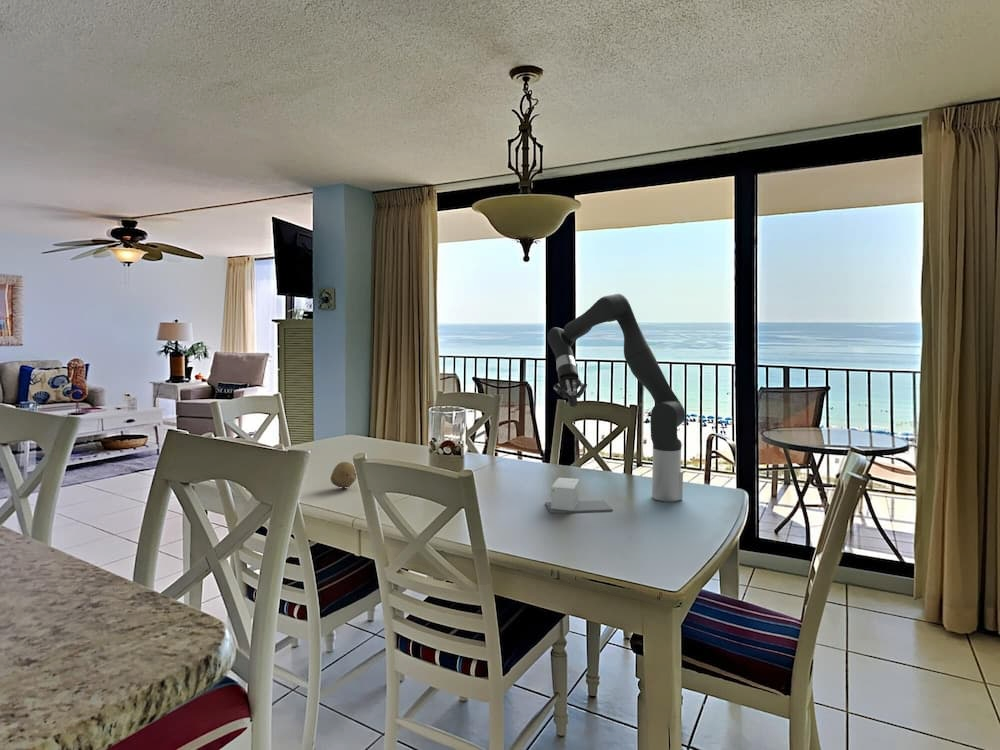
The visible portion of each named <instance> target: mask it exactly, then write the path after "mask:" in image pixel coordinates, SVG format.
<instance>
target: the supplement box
mask: <svg viewBox="0 0 1000 750" xmlns="http://www.w3.org/2000/svg"><path fill="white" fill-rule="evenodd" d="M578 501H580V479H579V478H571V477H570V478H567V477H558V478H557V479H556V480H555V482H554V483H553V484H552V485H551V487H550V502H551V509H557V510H568V511H573V510H574V508H575V506H576V505H577V503H578Z"/></svg>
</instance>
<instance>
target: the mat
mask: <svg viewBox="0 0 1000 750" xmlns="http://www.w3.org/2000/svg"><path fill="white" fill-rule="evenodd" d="M544 504H545V506H546V508H547V510H548V512H549V513H550V514H552V515H553V514H570V513H571V514H573V513H575V514H576V513H596V512H598V513H599V512H601V513H602V512H613V511H614V509H613V508H612V507H611V506H610V504H608V502H607V501H606V500H604V499H599V500H598V499H596V500H579V501H578V503H577V505H576V506H575V508H574V510H573V511H568V510H557V509H551V501H546V502H544Z"/></svg>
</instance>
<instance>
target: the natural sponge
mask: <svg viewBox="0 0 1000 750" xmlns="http://www.w3.org/2000/svg"><path fill="white" fill-rule="evenodd" d="M354 467H355V465H353V464H352V463H351V462H347V461H342V462H339V463H338V464H336V466H335V467H334V468H333V470H332V473H331V475H330V482H331V484H333V486H335V487H338V488H339V487H342V488H345V487H348V488H349V487H350V486H352V484H353V483H355V482H356V480H357V477H356V473H355V469H356V468H355V469H354Z"/></svg>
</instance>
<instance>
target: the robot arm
mask: <svg viewBox="0 0 1000 750" xmlns="http://www.w3.org/2000/svg"><path fill="white" fill-rule="evenodd" d="M630 304H631V303H630V302H629V300H628V299H627V298H626V297H625V295H624V294H621V293H614V294H610V295H605V296H602V297H600V298H598V300H597V301H596V302H594V303H593V304H592V305H591V307H590V308H588V309H587V310H586V311H585V312H583V313H582V314H581V315H579V316H577V317H576V318H575V319H573V320H571V321H569V322H568V323H567V324H565V326H564V328H560V327H556V326H554V327H552V328H551V329H549V331H548V333H547V341H548V344H549V346H550V349H551V350H552V352H553V354H554V356H555V362H556V372H557V378H558V383H555V384H554V385H553V390H554V391H555V392H556V393H557V394H558V395H559V396H560V397H561V398H563V399H567V401H568V404H569V406H570V407H571V408H576V406H578V399H580V398H581V396H582V395H583V394H584V393H585V392H586V390H587V387H588V383H583V382H582V380H581V379H580V376H579V372H578V368H577V361H576V360H575V355H574V352H573V349H572V346H573V345H574V343H576V342H577V340H578V339H579V338H582V337H583V336H585V335H586V334H588V333H590V331H591V330H592V328H593V327H595V326H597V325H600V324H604V323H608V322H609V323H610V322H615V321H616V322H617V323H618V324H619V327H620V329H621V331H622V333H623V335H622V336H623V356H624V360H625V362H626V363H627V365H628V367H629V369H630V371H631V373H632V374H633V376H634V377H635V378H636V380H638V382H639V383H640V384H641V385H642V386H643V387H644V388H645V389H646V390H647V392H649V394H650V395H651V397H652V399H653V402H654V403H655V405H654V406H653V407H652V409H651V412H650V418H649V419H650V440H651V442H652V473H651V474H652V476H651V477H652V480H651V482H652V483H651V495H652V496H651V497H652V499H653V500H656V501H660V502H667V503H668V502H670V503H672V502H673V503H674V502H678V501H683V497H684V496H683V492H684V491H683V487H684V485H683V484H684V472H683V471H682V470H681V469H682V467H681V466H682V462H681V461H682V440H680V439H679V437H678V427H679V426H681V425H682V424H683V423H684V421H685V418H686V412H685V409H684V407H683V405H682V403H681V402H680V399H679V398H678V397H677V395H676V394H675V392H674V391H673V390H672V388H671V386H670V384H669V383H668V381H667V379H666V377H665V375H664V372H663V371H662V369H661V367H660V365H659V363H658V361H657V359H656V356H655V355H654V353H653V351H652V349H651V348H650V346H649V344H648V343H647V340H646V339H645V336H644V335H643V332H642V330H641V329H640V326H639V324H638V321H637V318H636V317H635V313H634V311H633V309H632V307H631V305H630ZM578 389H579V390H578ZM577 390H578V391H577Z"/></svg>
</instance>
